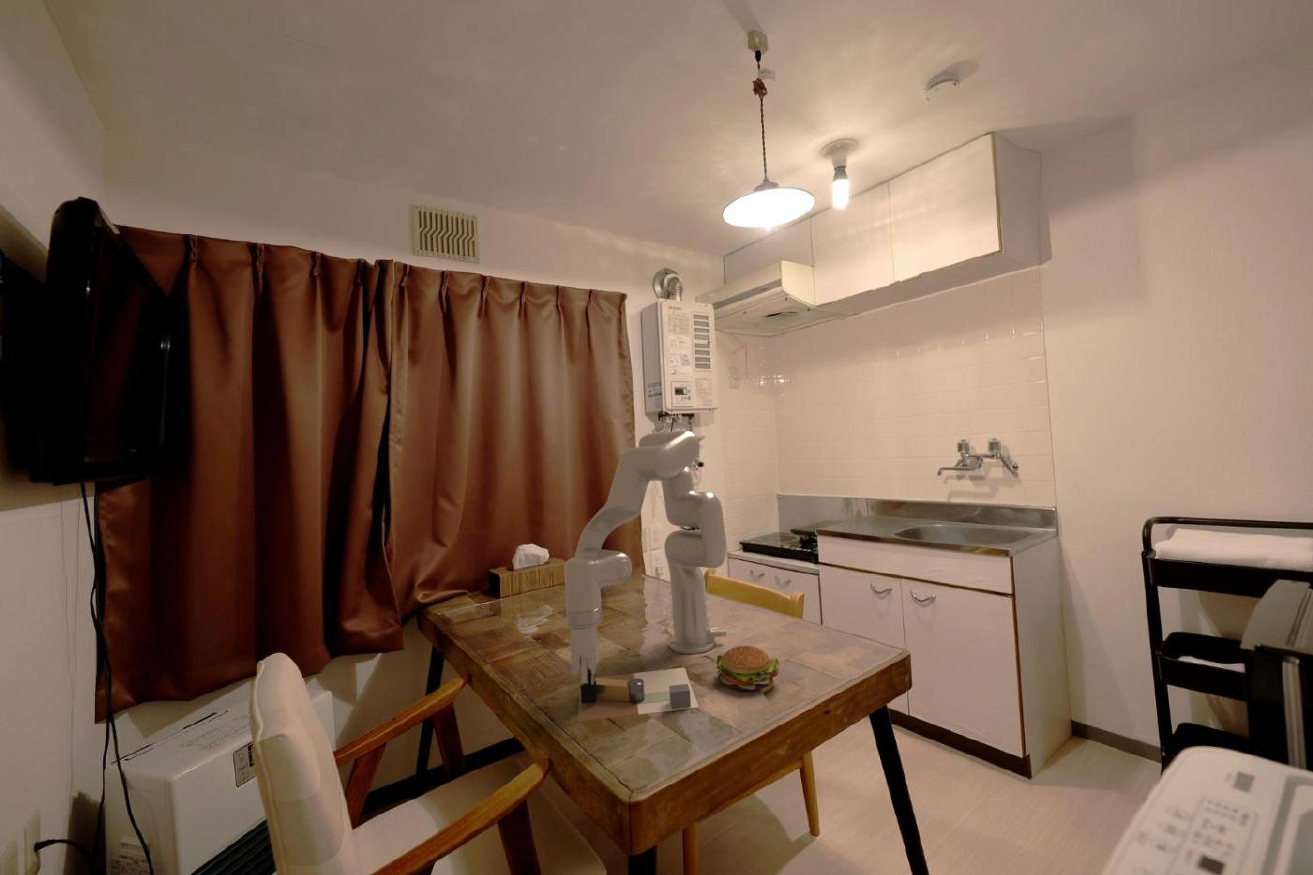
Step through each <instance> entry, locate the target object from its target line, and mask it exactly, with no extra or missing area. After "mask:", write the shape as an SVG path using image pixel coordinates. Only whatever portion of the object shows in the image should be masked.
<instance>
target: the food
mask: <svg viewBox="0 0 1313 875" xmlns="http://www.w3.org/2000/svg"><path fill="white" fill-rule="evenodd" d="M716 664H717V668H716V669H717V672H716V673H717V674H718V679H719V682H720V683H721V684H722V685H723V686H725V687H727V688H729V689H731V690H734V691H739V692H755V691H761V693H762V694H764V693H767V692H769V691H771V688H772V687H774V678H775V677H777V676H778V674H779V666H780V663H779V660H778V658H776V657H775V658H773V657H772V658H771V657H770V656H769V654H768V653H767V652H766V651H764V650H763V649H761V648H759V647H756V646H752V645H740V646H739V645H738V646H734V647H731V648H730V649H728V650H727V651H726V652H724V653H723V654H719V655H717V657H716Z"/></svg>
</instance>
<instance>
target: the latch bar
mask: <svg viewBox="0 0 1313 875" xmlns="http://www.w3.org/2000/svg"><path fill="white" fill-rule="evenodd" d="M594 681H596V688H597V699H602V700H614V701H626V702H631V703H640V702H642V701H644V699H645V693H644V681H643V680H642V679H639V678H635V679H631V680H615V679H601V678H596V677H595V680H594Z"/></svg>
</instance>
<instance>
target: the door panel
mask: <svg viewBox="0 0 1313 875" xmlns="http://www.w3.org/2000/svg"><path fill="white" fill-rule="evenodd" d="M595 678H601V679H615V680H631V679H635V678H639V679H642V680H643V681H644V693H645V699H644V701H642V702H640V703H631V702H626V701H614V700H602V699H597V700H596V703H586V704H582V703H581V687H580V688H579V689H580V690H579V698H578V707H577V716H576V723H579V722H588V721H598V720H605V719H614V718H621V717H630V716H637V715H646V714H655V713H662V712H663V713H664V712H671V711H679V710H687V709H688V710H689V709H695V708H699V705H698V702H697V700H696V699H697V698H696V696H695V694H694V690H693V688H692V685H691V682H690V680H689V676H688V674H687V670H686V668H685V667H676V668H669V669H659V670H651V671H650V670H649V671H643V672H642V671H641V672H631V673H625V674H624V673H623V674H616V675H606V676H605V675H604V676H598V677H596V676H595Z"/></svg>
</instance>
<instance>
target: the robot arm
mask: <svg viewBox="0 0 1313 875" xmlns="http://www.w3.org/2000/svg"><path fill="white" fill-rule="evenodd" d="M700 448H701V446H700V441H699V438H698V437H697V435H696V434H695V433H694V432H691V431H689V430H678V431H677V430H676V431H675V430H674V431H661V432H660V431H659V432H654V433H653V432H652V433H648V434H645V435H644V436H642V437H641V438H640V439H639V441H638V446H637V447H631V448H628V449H626V450H625V451H623V453H622V454H621V455H620V457H619V461H618V463H617V467H616V470H615V473H614V478H613V480H612V484H611V487H610V489H609V490H610V491H609V493H608V496H607V499H606V502H605V504H604V506H603V507H601V508H600V509H599V510H598V512H596V514H595V515H594V516H593V517H592V518H591V519H590V520H589V521H588V523H587V524H586V525H585V527H584V528H583V529H582V532H581V534H580V537H579V540H578V542H577V546H576V549H575V552H574V557H571V558H569V559H567V560H566V562H565V563H564V565H563V566H564V567H563V572H564V592H565V608H566V625H567V627H569V628H571V629H570V630H571V632H570V652H571V653H570V654H571V655H570V657H571V658H570V661H571V662H570V664H571V665H570V666H571V669H570V670H571V675H572V677H576V676H578V673H579V679H580V684H579V685H580V688H581V703H582V704H586V703H596V700H597V688H596V681H594V680H595V678H596V669H597V667H598V666H597V665H598V662H599V631H598V630H599V629H598V626H599V625H600V624H601V623H603V611H602V597H601V596H602V594H601V589H603V588H607V587H614V586H615V587H616V586H619V585H622V584H624V583H625V582H626V581H627V580H628V579H629V578H630V577H631V575H632V572H633V563H632V560H631V558H630V557H629V555H627V554H626V553H624V552H622V551H617V550H612V549H611V550H610V549H609V550H608V549H602V548H603V544H604V543H605V540H606V538H608V536H609V535H610V533H612V532H613V531H614V530H615V529H617V528H618V527H620V526H621V525H624V524H626V523H628V522H629V521H631V520H633V519H635V518H637V517H639V515H640V514H641V513H642V509H643V505H644V500H645V497H646V493H647V491H648V486H649V483H650V482H655V481H656V482H659V481H661V485H662V486H661V487H662V492H663V493H662V494H663V502H664V509H665V515H666V519H667V521H668V522H669V524H671V525H673V526H676V527H682V528H683V527H684V528H685V527H686V528H687V527H688V528H699V530H692V529H691V530H690V529H678V530H674V531H672V532H671V533H669V534H668V535H667V537H666V538H665V542H664V555H665V558H666V561H667V566H668V567H667V568H668V571H669V579H670V580H669V581H670V592H671V593H670V594H671V605H672V607H671V608H672V619H673V620H672V622H673V636H672V637H671V638H670V640H669V641H668V647H669V648H670V649H671V651H673V652H676V653H678V654H679V653H680V654H685V655H686V654H687V655H688V654H689V655H691V654H700V653H704V652H707V651H710V650H711V649H713V648H714V647H715V644H716V642H715V641H716V640H715V638H718V637H719V638H722V637H727V632H726V628H723V629H720V628H719V627H713V628H712V627H710V626H709V620H708V606H707V604H708V603H707V592H706V591H707V590H706V580H705V577H704V574H703V572H702V569H701V568H704V569H705V568H706V569H717V568H721V566H723V565H724V563H725V562H726V558H727V551H728V546H727V538H726V529H725V528H726V527H725V518H724V511H723V506H722V505H723V504H722V502H721V501H720V499H719V498H718V496H717V495H715V493H712V492H710V491H709V492H708V491H696V490H695V487H694V481H693V474H692V470H691V468H690V467H689V466H690V465H691V464H693V463H694V462H695V461H696V459H697V458H698V456H699V453H700Z"/></svg>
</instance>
